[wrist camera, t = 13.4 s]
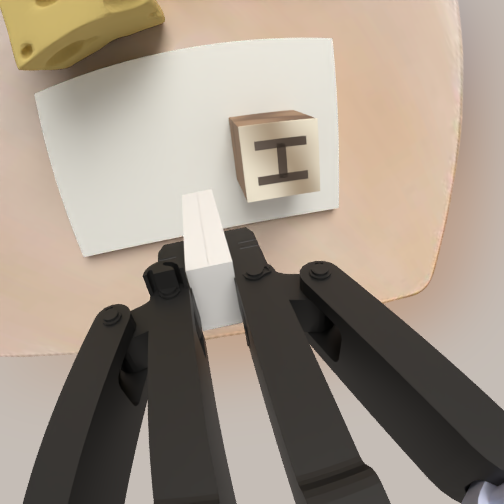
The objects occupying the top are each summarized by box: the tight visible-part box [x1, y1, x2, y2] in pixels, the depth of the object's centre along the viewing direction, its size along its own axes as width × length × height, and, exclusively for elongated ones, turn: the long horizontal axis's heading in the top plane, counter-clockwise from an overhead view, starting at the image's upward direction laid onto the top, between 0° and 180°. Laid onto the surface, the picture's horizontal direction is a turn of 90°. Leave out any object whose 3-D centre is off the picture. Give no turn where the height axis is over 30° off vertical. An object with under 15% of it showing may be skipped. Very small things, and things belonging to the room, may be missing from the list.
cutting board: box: [35, 38, 339, 257], centre depth 27 cm, size 28×18×1 cm, turn 97°
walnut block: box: [229, 110, 320, 203], centre depth 26 cm, size 6×6×6 cm
